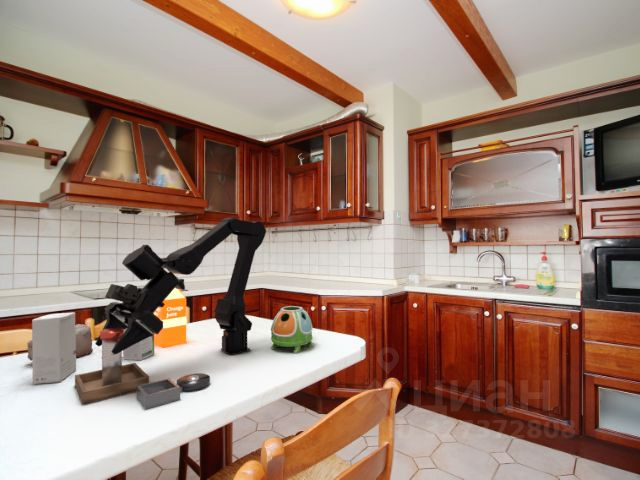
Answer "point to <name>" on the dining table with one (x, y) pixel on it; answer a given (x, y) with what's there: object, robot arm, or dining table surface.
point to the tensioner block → (169, 389)
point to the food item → (81, 341)
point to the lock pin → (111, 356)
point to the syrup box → (140, 349)
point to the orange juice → (172, 320)
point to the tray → (93, 390)
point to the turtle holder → (291, 328)
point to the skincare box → (53, 347)
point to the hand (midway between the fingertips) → (104, 349)
